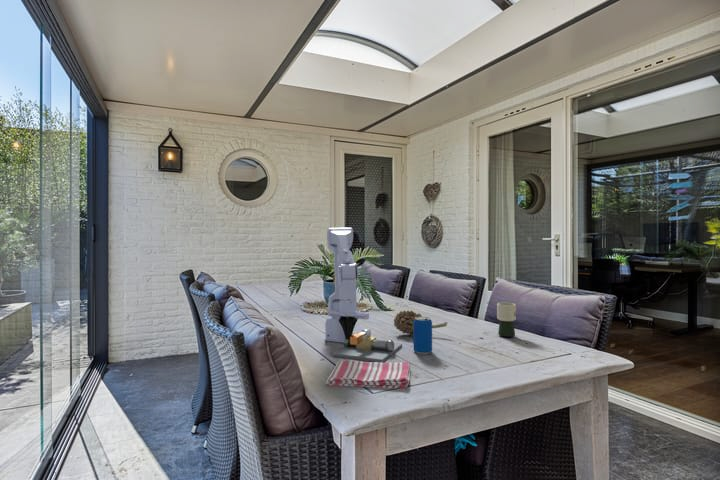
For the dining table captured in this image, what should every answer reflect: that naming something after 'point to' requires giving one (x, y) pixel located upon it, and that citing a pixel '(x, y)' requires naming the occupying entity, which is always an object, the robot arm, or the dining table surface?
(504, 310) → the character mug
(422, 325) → the beverage can
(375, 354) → the base board
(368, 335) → the valve lever
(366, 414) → the dining table surface
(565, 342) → the dining table surface
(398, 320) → the pine cone
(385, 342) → the valve pipe
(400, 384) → the dish towel
